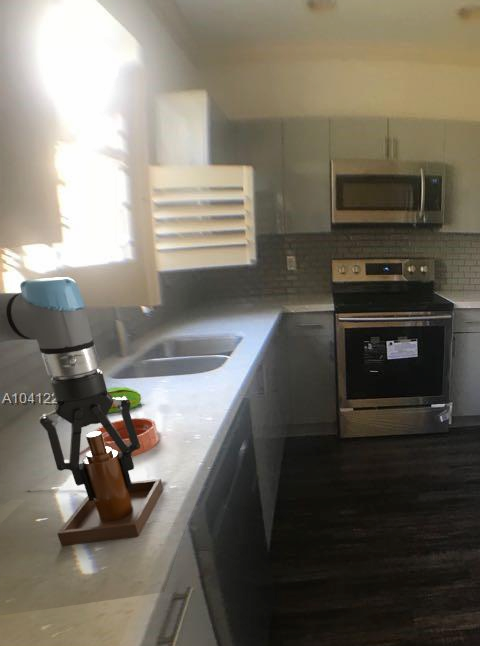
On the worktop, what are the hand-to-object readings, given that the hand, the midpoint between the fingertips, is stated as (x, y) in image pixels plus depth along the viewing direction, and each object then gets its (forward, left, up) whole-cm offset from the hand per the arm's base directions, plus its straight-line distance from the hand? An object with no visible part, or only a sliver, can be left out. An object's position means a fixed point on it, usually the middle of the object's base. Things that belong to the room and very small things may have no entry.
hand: (110, 491), depth 85 cm
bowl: (-15, +28, -5) cm, 32 cm away
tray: (0, 0, -5) cm, 5 cm away
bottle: (0, 0, -5) cm, 5 cm away
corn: (-35, +50, -6) cm, 61 cm away
